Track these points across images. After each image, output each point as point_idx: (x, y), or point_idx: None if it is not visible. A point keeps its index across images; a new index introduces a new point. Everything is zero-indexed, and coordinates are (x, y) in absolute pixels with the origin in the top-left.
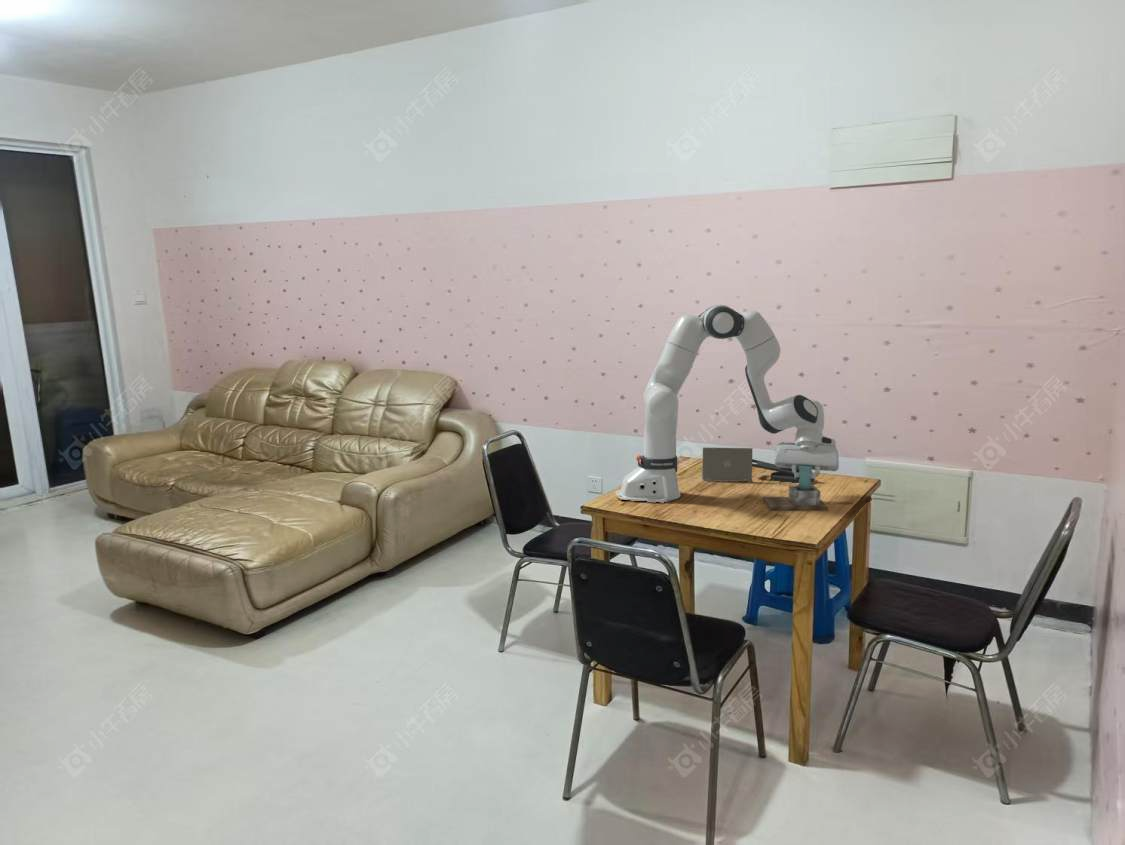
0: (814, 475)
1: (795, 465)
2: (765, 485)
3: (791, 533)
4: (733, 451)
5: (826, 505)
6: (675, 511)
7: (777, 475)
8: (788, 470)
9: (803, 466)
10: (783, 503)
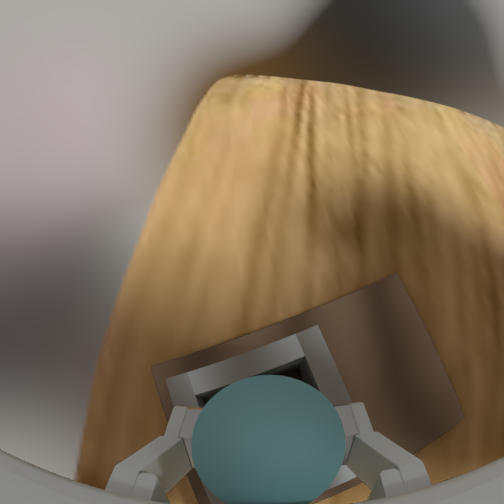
0: (179, 422)
1: (393, 492)
2: None
3: (269, 104)
4: None
5: (157, 385)
6: None
7: None
8: None
9: (294, 462)
10: (364, 353)
